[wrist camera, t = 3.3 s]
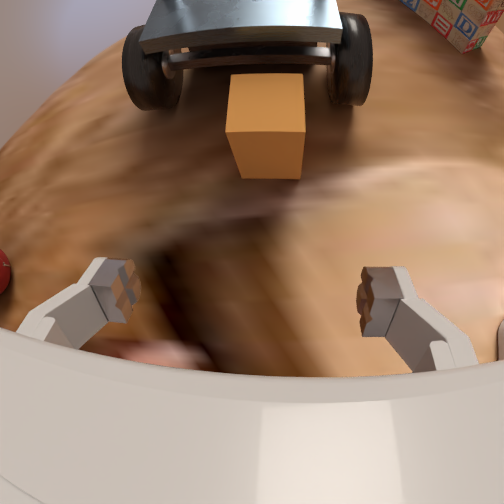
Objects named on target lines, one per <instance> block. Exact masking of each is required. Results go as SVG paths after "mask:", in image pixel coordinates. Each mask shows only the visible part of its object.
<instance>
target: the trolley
mask: <svg viewBox="0 0 504 504" xmlns="http://www.w3.org/2000/svg"><path fill="white" fill-rule="evenodd" d="M317 42H324V43H327V44H326V48H323V47H317ZM186 47H188V48H189V51H190V52H185V53H182V52H181V48H186ZM271 63H285V64H316V65H326V66H327V83H328V91H329V97H330V100H331V102H332V103H333V104H344V105H356V106H361V105H363V104H364V102H365V101H366V98H367V96H368V93H369V89H370V84H371V77H372V66H373V49H372V39H371V33H370V28H369V25H368V22H367V20H366V18H365V17H364V16H363V15H361V14H353V13H345V12H338V8H337V4H336V0H157V1H156V3H155V5H154V7H153V9H152V12H151V14H150V16H149V18H148V20H147V23H146V25H142V26H138V27H135V28H133V29H132V30H131V31H130V33H129V34H128V36H127V38H126V40H125V43H124V47H123V53H122V72H123V78H124V83H125V86H126V89H127V92H128V94H129V96H130V98H131V100H132V102H133V103H134V104H135V105H136V106H137V107H138V108H139V109H141V110H144V111H148V110H155V109H163V108H171V107H173V106H174V105H175V104H176V103H177V101H178V99H179V97H180V93H181V89H182V82H183V70H184V69H192V68H201V67H211V66H223V65H239V64H271Z"/></svg>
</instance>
